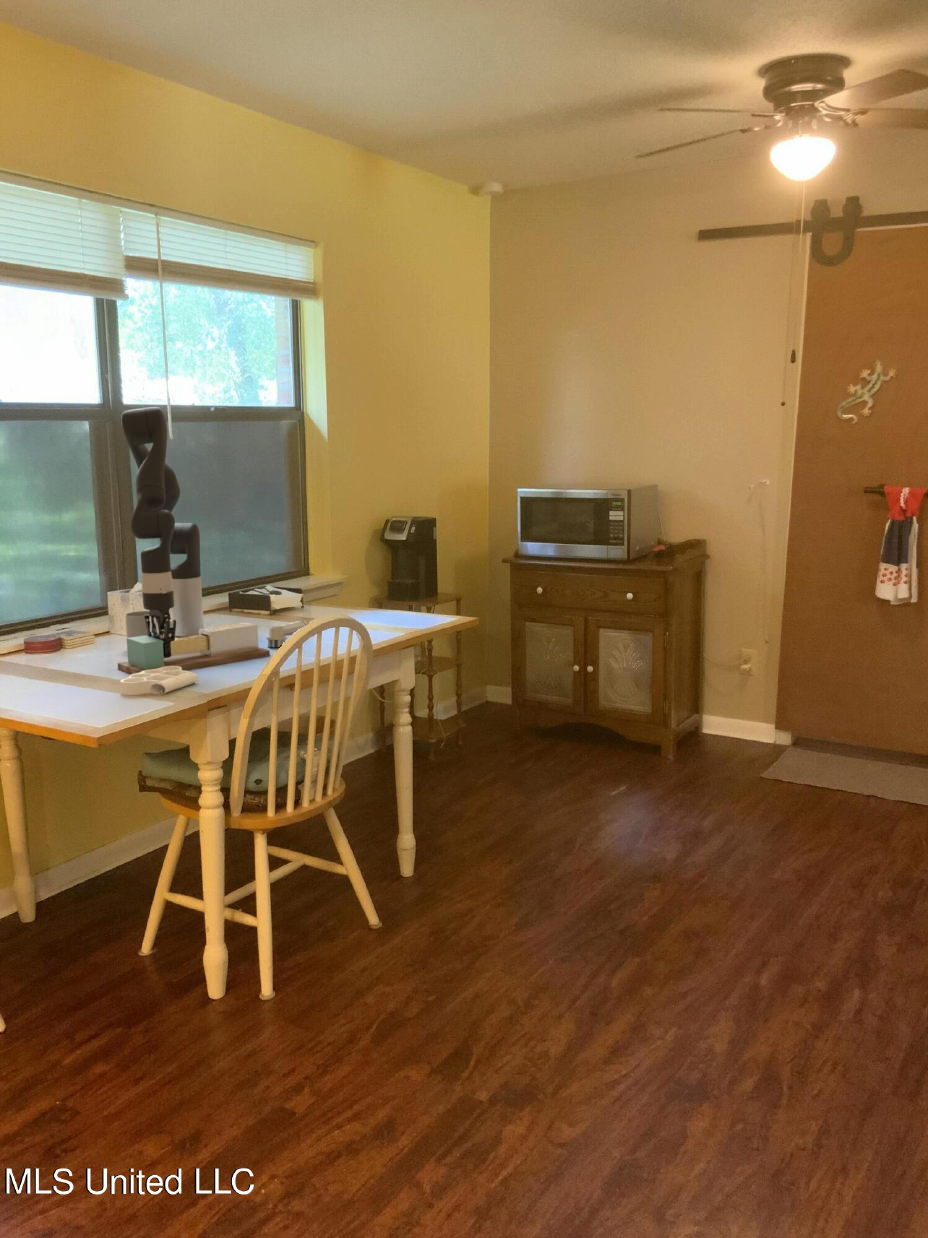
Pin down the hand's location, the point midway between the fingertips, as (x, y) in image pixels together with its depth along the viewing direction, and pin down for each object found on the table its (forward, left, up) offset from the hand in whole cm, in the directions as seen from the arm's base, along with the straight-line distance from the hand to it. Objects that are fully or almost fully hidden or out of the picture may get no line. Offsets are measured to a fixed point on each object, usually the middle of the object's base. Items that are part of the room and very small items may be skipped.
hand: (162, 655), depth 262 cm
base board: (0, +9, -3) cm, 10 cm away
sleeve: (0, +19, -2) cm, 19 cm away
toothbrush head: (-8, +42, -4) cm, 43 cm away
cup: (-27, +7, -3) cm, 28 cm away
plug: (0, +5, 0) cm, 6 cm away
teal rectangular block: (0, -5, -2) cm, 5 cm away
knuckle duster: (+18, -10, -4) cm, 21 cm away
